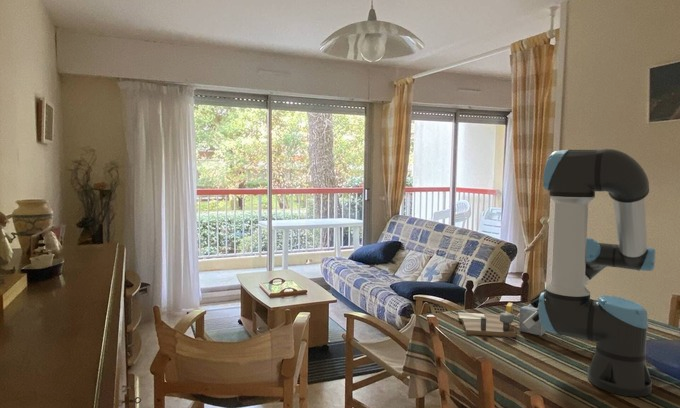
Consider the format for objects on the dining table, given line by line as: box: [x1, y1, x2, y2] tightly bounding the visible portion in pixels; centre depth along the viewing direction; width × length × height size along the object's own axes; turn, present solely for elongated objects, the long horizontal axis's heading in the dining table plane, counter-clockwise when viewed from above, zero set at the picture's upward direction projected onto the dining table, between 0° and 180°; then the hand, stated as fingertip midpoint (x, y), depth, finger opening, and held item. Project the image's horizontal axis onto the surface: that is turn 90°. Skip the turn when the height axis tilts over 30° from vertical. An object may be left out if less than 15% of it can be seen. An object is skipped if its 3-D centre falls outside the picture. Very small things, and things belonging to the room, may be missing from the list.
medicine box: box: [518, 305, 546, 337], centre depth 163 cm, size 8×4×9 cm, turn 47°
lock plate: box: [457, 311, 517, 338], centre depth 170 cm, size 20×18×6 cm
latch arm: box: [499, 302, 514, 326], centre depth 164 cm, size 12×4×7 cm, turn 151°
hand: (522, 321), depth 164 cm, fingers closed on medicine box, 8 cm apart
